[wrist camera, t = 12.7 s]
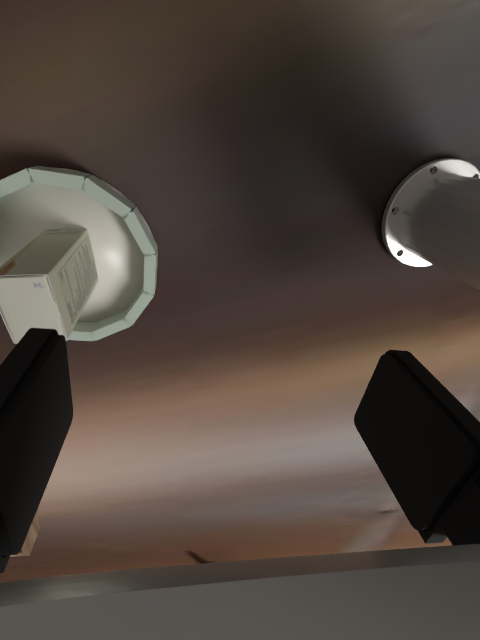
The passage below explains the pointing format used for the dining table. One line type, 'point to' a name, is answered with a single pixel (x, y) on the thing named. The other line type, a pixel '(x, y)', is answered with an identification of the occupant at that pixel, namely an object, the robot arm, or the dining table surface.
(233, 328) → the dining table surface
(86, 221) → the round tray
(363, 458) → the dining table surface
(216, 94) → the dining table surface
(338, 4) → the dining table surface
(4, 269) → the skincare box
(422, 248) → the robot arm
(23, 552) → the wooden display box
